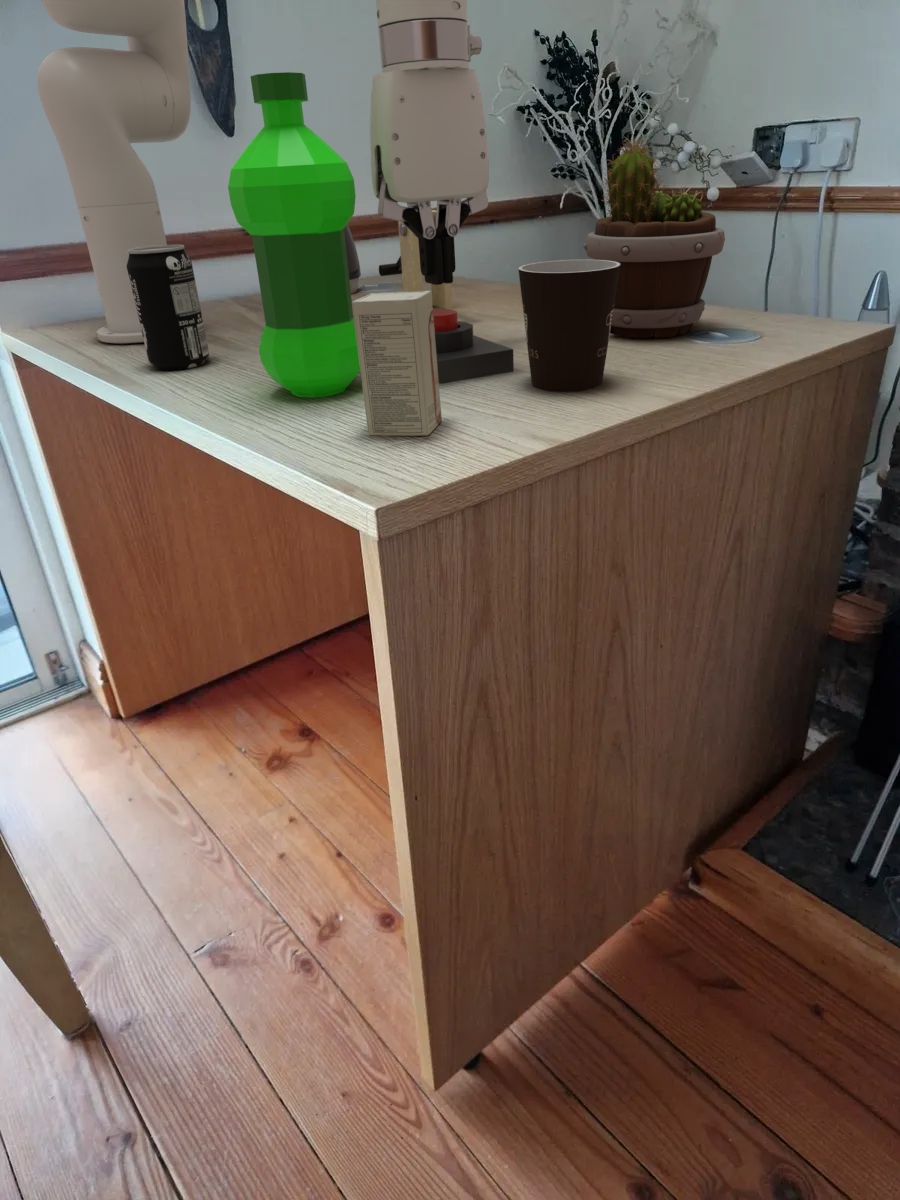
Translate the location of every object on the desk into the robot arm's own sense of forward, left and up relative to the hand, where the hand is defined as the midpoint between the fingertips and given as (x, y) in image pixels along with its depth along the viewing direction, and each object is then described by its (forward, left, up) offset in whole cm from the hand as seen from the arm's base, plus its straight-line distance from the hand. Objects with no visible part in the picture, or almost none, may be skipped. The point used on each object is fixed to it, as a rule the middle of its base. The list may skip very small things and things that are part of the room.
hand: (438, 282), depth 76 cm
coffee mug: (+12, +8, -8) cm, 16 cm away
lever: (-30, +10, -1) cm, 32 cm away
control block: (0, 0, -8) cm, 8 cm away
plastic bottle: (+1, -13, -8) cm, 16 cm away
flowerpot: (-2, +27, -8) cm, 28 cm away
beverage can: (-20, -23, -8) cm, 32 cm away
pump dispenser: (-50, +4, -8) cm, 51 cm away
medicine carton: (+17, -11, -8) cm, 22 cm away
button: (0, 0, -5) cm, 5 cm away
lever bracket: (-26, +10, -8) cm, 29 cm away
